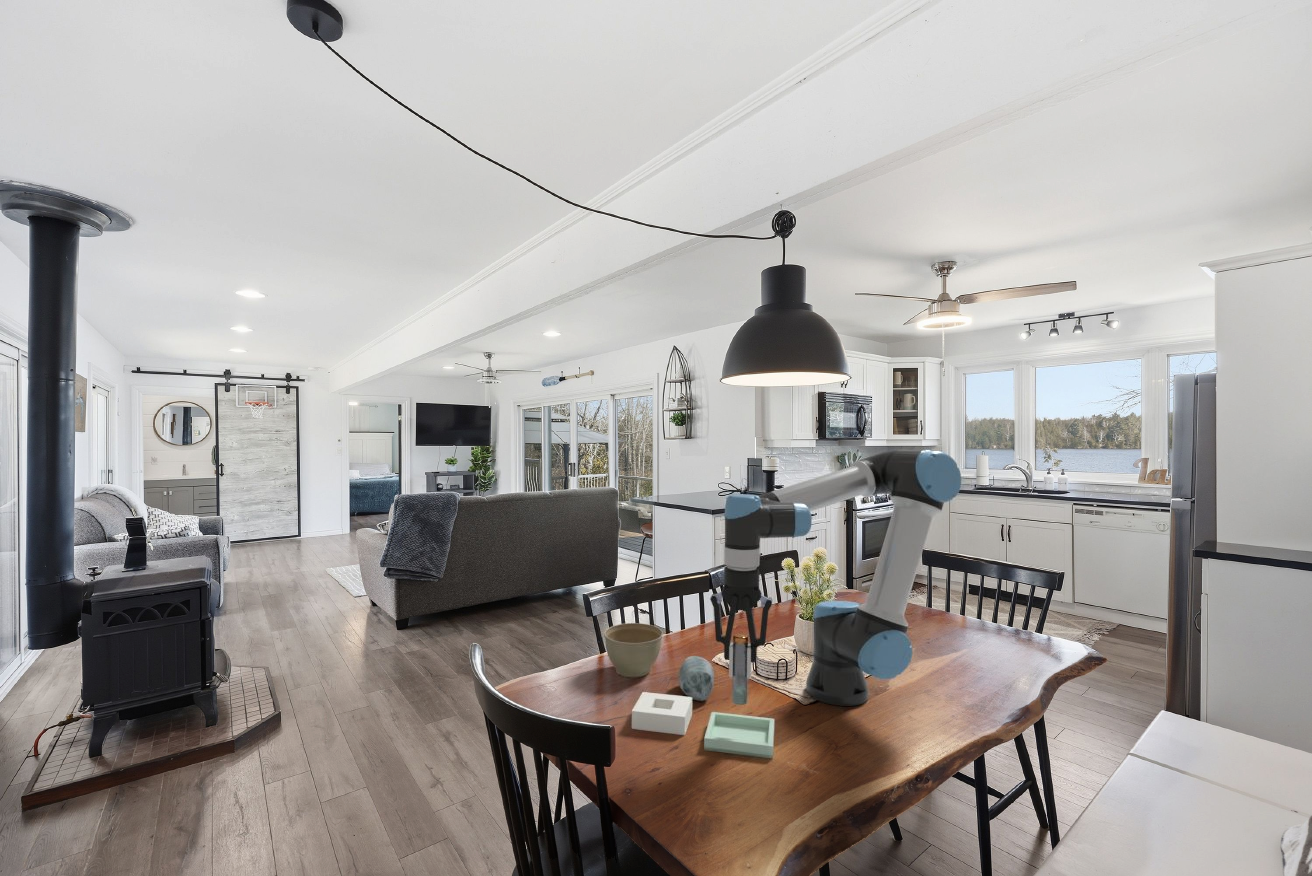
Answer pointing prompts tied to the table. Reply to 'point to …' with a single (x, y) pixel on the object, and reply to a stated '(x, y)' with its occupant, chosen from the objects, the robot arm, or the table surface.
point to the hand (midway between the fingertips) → (740, 675)
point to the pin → (740, 669)
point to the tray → (740, 735)
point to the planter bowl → (633, 647)
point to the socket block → (662, 713)
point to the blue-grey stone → (696, 678)
